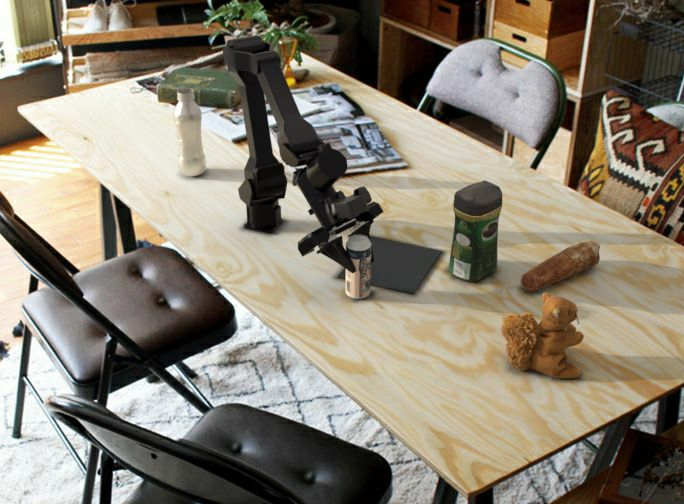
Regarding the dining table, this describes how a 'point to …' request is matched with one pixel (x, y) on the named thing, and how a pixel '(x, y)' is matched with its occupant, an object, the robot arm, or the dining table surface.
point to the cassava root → (562, 265)
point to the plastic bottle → (189, 134)
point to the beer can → (359, 266)
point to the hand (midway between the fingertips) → (363, 267)
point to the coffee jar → (475, 231)
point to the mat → (399, 265)
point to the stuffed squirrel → (543, 338)
